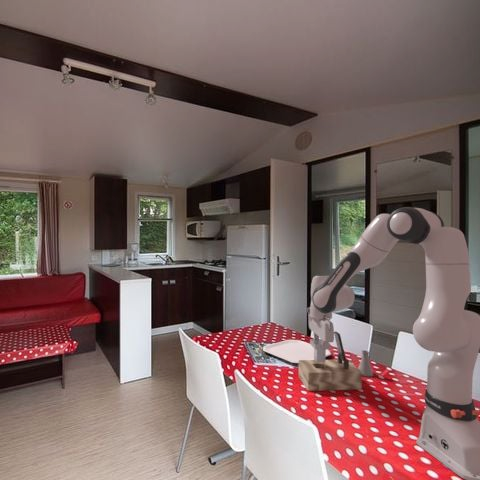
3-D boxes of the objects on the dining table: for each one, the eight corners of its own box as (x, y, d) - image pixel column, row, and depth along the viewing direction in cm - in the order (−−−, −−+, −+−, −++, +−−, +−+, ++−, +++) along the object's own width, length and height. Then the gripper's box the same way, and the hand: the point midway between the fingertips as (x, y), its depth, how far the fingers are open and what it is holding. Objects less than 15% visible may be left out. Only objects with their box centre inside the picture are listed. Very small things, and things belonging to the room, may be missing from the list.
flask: (375, 378, 138) (375, 355, 138) (357, 376, 139) (358, 353, 139) (371, 371, 145) (372, 349, 145) (355, 369, 146) (355, 348, 146)
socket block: (347, 375, 139) (347, 351, 140) (361, 389, 127) (362, 363, 127) (298, 376, 137) (299, 352, 137) (307, 390, 124) (308, 363, 124)
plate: (299, 370, 145) (300, 365, 145) (257, 351, 167) (257, 347, 167) (336, 356, 163) (336, 352, 163) (293, 341, 186) (293, 338, 186)
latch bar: (339, 358, 134) (342, 357, 135) (344, 361, 130) (346, 361, 131) (333, 332, 134) (336, 331, 134) (337, 334, 130) (340, 334, 130)
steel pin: (329, 363, 129) (330, 344, 129) (314, 364, 128) (315, 344, 128) (324, 357, 135) (324, 339, 135) (309, 358, 134) (310, 339, 134)
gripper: (338, 319, 122) (337, 355, 122) (319, 307, 142) (318, 338, 142) (322, 319, 121) (321, 355, 121) (306, 307, 141) (305, 338, 141)
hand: (320, 346), depth 132 cm, fingers closed on steel pin, 6 cm apart
